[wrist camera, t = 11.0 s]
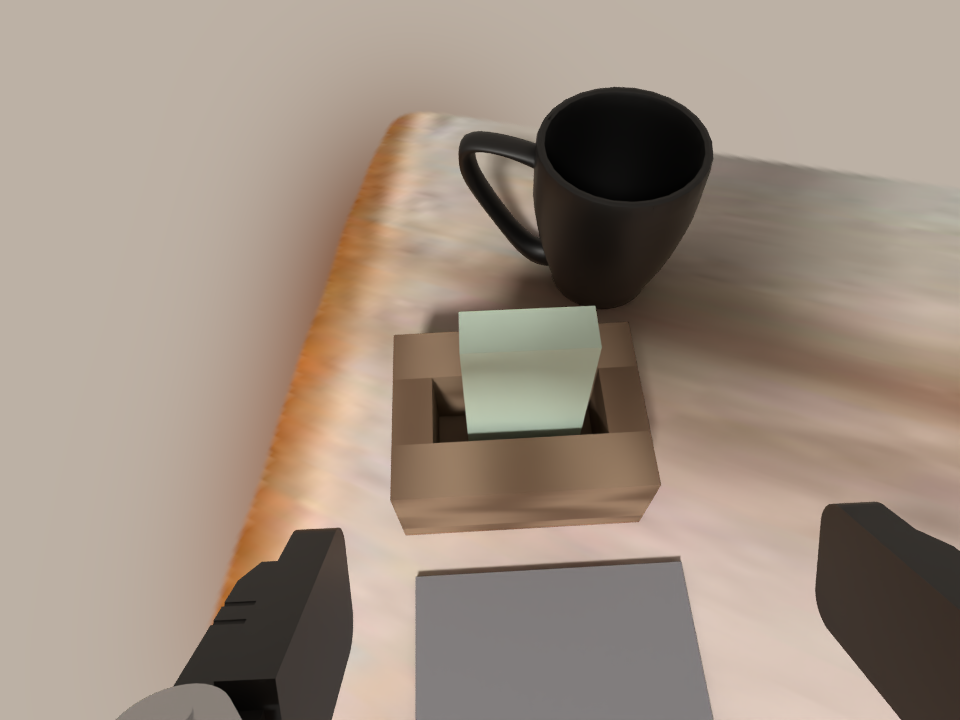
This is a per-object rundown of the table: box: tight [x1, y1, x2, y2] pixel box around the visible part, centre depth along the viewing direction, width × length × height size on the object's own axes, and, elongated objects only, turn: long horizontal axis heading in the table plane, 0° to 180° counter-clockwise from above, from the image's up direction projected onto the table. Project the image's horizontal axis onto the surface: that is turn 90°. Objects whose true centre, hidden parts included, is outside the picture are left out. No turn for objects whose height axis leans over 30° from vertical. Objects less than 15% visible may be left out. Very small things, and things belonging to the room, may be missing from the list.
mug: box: [459, 87, 713, 309], centre depth 35 cm, size 8×12×10 cm
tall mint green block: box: [459, 306, 602, 441], centre depth 28 cm, size 5×2×10 cm, turn 92°
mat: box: [416, 562, 713, 720], centre depth 27 cm, size 12×10×1 cm
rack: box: [390, 322, 661, 535], centre depth 31 cm, size 11×8×5 cm
